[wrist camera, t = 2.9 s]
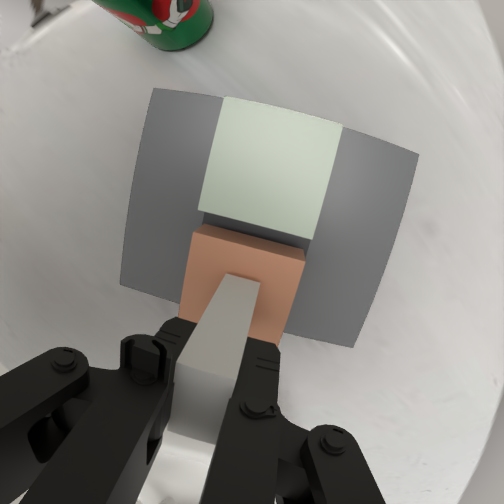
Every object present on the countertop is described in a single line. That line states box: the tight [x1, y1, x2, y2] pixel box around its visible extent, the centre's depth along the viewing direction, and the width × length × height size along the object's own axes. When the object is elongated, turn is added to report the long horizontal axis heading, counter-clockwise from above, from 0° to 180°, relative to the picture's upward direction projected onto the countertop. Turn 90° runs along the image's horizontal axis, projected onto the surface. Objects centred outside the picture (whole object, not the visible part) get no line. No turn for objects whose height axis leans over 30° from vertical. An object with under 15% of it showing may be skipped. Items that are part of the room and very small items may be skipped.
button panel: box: [120, 88, 419, 348], centre depth 19 cm, size 15×12×4 cm
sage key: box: [198, 96, 343, 240], centre depth 14 cm, size 5×5×2 cm
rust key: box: [178, 224, 306, 348], centre depth 15 cm, size 5×5×2 cm
